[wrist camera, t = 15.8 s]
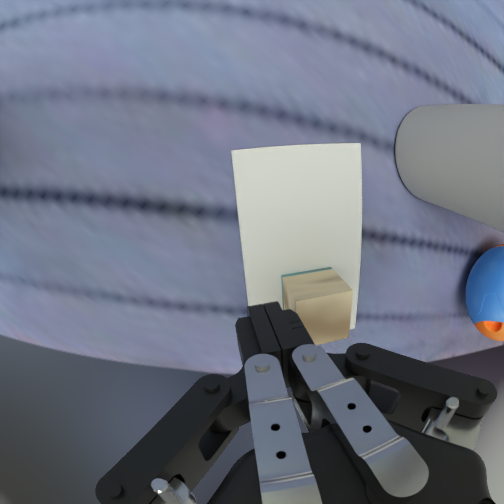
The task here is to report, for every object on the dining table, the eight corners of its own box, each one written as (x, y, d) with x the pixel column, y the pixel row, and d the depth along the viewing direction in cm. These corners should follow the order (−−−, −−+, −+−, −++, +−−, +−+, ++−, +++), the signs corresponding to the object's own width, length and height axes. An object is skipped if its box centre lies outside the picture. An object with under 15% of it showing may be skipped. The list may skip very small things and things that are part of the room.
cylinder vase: (377, 174, 31) (576, 247, 8) (409, 87, 28) (594, 82, 5) (440, 214, 35) (588, 291, 12) (466, 137, 31) (615, 171, 8)
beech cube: (296, 349, 30) (283, 319, 35) (348, 337, 31) (329, 310, 36) (296, 301, 28) (281, 275, 33) (352, 290, 28) (330, 266, 34)
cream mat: (230, 150, 28) (231, 150, 28) (357, 143, 30) (360, 143, 29) (253, 346, 37) (253, 349, 36) (352, 326, 39) (354, 328, 38)
